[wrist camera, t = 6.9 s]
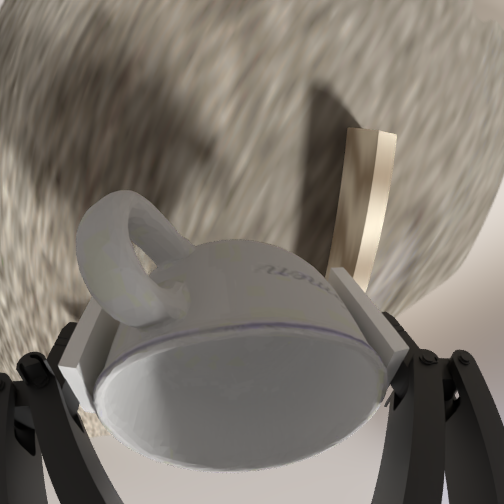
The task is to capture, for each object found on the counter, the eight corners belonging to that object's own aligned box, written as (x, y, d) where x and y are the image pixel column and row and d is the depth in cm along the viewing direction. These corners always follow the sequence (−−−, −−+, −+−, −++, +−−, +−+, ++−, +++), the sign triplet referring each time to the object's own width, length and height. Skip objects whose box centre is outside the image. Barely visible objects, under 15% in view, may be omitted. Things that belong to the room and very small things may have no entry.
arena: (69, 125, 16) (38, 128, 12) (363, 130, 19) (397, 134, 15) (103, 336, 24) (91, 369, 20) (326, 331, 28) (342, 361, 24)
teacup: (324, 346, 18) (372, 443, 11) (173, 385, 18) (172, 488, 10) (293, 127, 12) (407, 138, 5) (74, 194, 11) (-33, 275, 4)
